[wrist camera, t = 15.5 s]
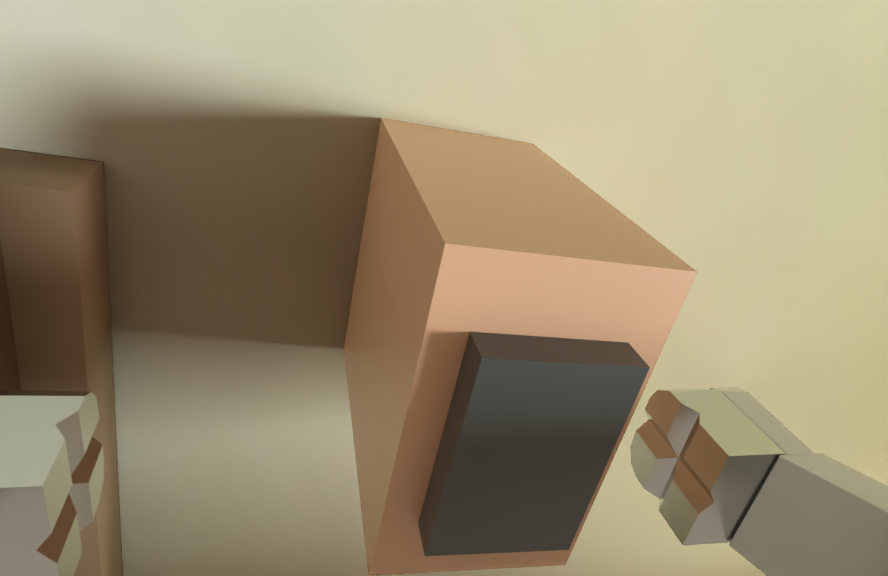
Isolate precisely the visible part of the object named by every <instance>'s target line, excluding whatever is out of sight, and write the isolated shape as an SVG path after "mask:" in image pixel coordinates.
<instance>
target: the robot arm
mask: <svg viewBox="0 0 888 576" xmlns="http://www.w3.org/2000/svg"><path fill="white" fill-rule="evenodd" d="M645 411H646V414H647V417H648V419H649V420H648V421H647V422H645V423H644V424H643V425H642V426H641V427H640V428H639V429H638V430H636V433H635V435H634V438H633V441H632V444H631V464H632V467H633V470H634V472H635V475H636V477H637V479H638V480H639V482H640V483H641V485H642V486H643V488H644V489H646V490H647V491H649V492H650V493H652V494H653V495H655V496H656V497H658V498H659V511H660V513H661V514H662V516H663V517H664V519H665V520H666V522H667V523H668V524H669V526H670V527H671V529H672V530H673V532H674V533H675V535H676V536H677V538H678V539H679V540H680V542H681V543H682V545H695V544H711V543H728V542H730V544H729V546H731V547H732V548H733V549H734V550H736V551H737V552H738V553H739V554H741V555H742V556H743V557H744V558H746V559H747V560H748V561H750V562H751V563H752V564H753V565H755V566H756V567H757V568H758V569H760V570H761V571H762V572H763V573H765V574H766V575H767V576H888V486H886V485H884V484H882V483H880V482H878V481H876V480H874V479H872V478H870V477H868V476H866V475H864V474H862V473H860V472H858V471H856V470H854V469H852V468H850V467H848V466H846V465H844V464H842V463H840V462H838V461H836V460H834V459H832V458H830V457H828V456H826V455H824V454H814V453H813V452H812V451H811V450H810V449H809V448H808V447H807V446H806V445H805V444H804V443H802V442H801V441H800V440H799V439H798V438H797V437H796V436H795V435H794V434H793V433H792V432H790V431H789V430H788V429H787V428H786V427H785V426H784V425H783V424H782V423H781V422H780V421H779V420H777V419H776V418H775V417H774V416H773V415H772V414H771V413H770V412H769V411H768V410H767V409H766V408H764V407H763V406H762V405H761V404H760V403H759V402H758V401H757V400H756V399H755V398H754V397H752V396H751V395H750V394H749V393H748V392H746V391H744V390H742V389H739V388H737V387H736V388H711V389H685V390H657V391H656V392H655V393H654V394H653V395H652V396H651V397H650V399H649V401H648V404H647V406H646V408H645ZM99 418H100V417H99V411H98V405H97V398H96V396H95V395H94V394H93V393H92V392H91V391H29V390H0V576H74V574H75V571H76V568H77V565H78V562H79V560H80V557H81V554H82V547H81V540H80V533H79V532H80V531H81V530H83V529H84V528H85V527H86V526H87V525H89V524H90V523H91V522H92V521H93V520H94V517H95V514H96V510H97V507H98V504H99V501H100V496H101V490H102V484H103V479H104V454H103V445H102V444H101V443H100V442H99V441H97V440H96V439H95V438H94V437H93V436H92V435H93V433H94V430H95V428H96V425H97V423H98V420H99Z"/></svg>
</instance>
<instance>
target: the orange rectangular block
mask: <svg viewBox="0 0 888 576" xmlns="http://www.w3.org/2000/svg"><path fill="white" fill-rule="evenodd" d="M696 273H697V271H695V270H694V269H693V268H691V267H690V266H689V265H688V264H686V263H685V262H684V261H682V260H681V259H680V258H679V257H677V256H676V255H675V254H673V253H672V252H671V251H670V250H668V249H667V248H666V247H665V246H663V245H662V244H661V243H659V242H658V241H657V240H656V239H654V238H653V237H652V236H650V235H649V234H648V233H647V232H645V231H644V230H643V229H641V228H640V227H639V226H638V225H636V224H635V223H634V222H632V221H631V220H630V219H629V218H627V217H626V216H625V215H624V214H622V213H621V212H620V211H618V210H617V209H616V208H615V207H613V206H612V205H611V204H609V203H608V202H607V201H606V200H604V199H603V198H602V197H600V196H599V195H598V194H597V193H595V192H594V191H593V190H592V189H590V188H589V187H588V186H586V185H585V184H584V183H583V182H581V181H580V180H579V179H577V178H576V177H575V176H574V175H572V174H571V173H570V172H568V171H567V170H566V169H565V168H563V167H562V166H561V165H559V164H558V163H557V162H556V161H554V160H553V159H552V158H551V157H549V156H548V155H547V154H545V153H544V152H543V151H542V150H540V149H539V148H538V147H536V146H535V145H534V144H530V143H524V142H518V141H512V140H506V139H501V138H495V137H489V136H483V135H477V134H471V133H466V132H460V131H454V130H448V129H442V128H436V127H431V126H425V125H419V124H413V123H407V122H402V121H396V120H390V119H384V118H381V121H380V127H379V133H378V140H377V146H376V152H375V158H374V164H373V171H372V177H371V183H370V189H369V195H368V202H367V208H366V214H365V220H364V227H363V233H362V239H361V245H360V251H359V258H358V264H357V270H356V276H355V283H354V289H353V295H352V301H351V307H350V314H349V320H348V326H347V332H346V338H345V345H344V355H345V364H346V373H347V382H348V391H349V400H350V409H351V419H352V428H353V437H354V446H355V455H356V464H357V473H358V482H359V491H360V501H361V510H362V519H363V528H364V537H365V546H366V555H367V564H368V573H369V575H385V574H404V573H422V572H441V571H460V570H479V569H497V568H516V567H535V566H554V565H566V562H567V560H568V558H569V556H570V553H571V551H572V549H573V547H574V544H575V542H576V540H577V538H578V536H579V533H580V531H581V529H582V527H583V524H584V522H585V520H586V518H587V516H588V513H589V511H590V509H591V507H592V504H593V502H594V500H595V498H596V496H597V493H598V491H599V489H600V487H601V484H602V482H603V480H604V478H605V476H606V473H607V471H608V469H609V467H610V464H611V462H612V460H613V458H614V456H615V453H616V451H617V449H618V447H619V444H620V442H621V440H622V438H623V435H624V433H625V431H626V429H627V427H628V424H629V422H630V420H631V418H632V415H633V413H634V411H635V409H636V407H637V404H638V402H639V400H640V398H641V395H642V393H643V391H644V389H645V387H646V384H647V382H648V380H649V378H650V375H651V373H652V371H653V369H654V367H655V364H656V362H657V360H658V358H659V355H660V353H661V351H662V349H663V347H664V344H665V342H666V340H667V338H668V335H669V333H670V331H671V329H672V327H673V324H674V322H675V320H676V318H677V315H678V313H679V311H680V309H681V306H682V304H683V302H684V300H685V298H686V295H687V293H688V291H689V289H690V286H691V284H692V282H693V280H694V278H695V275H696Z"/></svg>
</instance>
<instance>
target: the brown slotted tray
mask: <svg viewBox="0 0 888 576" xmlns="http://www.w3.org/2000/svg"><path fill="white" fill-rule="evenodd" d="M0 390H29V391H91V392H92V393H93V394H94V395H95V396H96V398H97V405H98V411H99V417H100V418H99V420H98V423H97V425H96V428H95V430H94V433H93V435H92V436H93V437H94V438H95V439H96V440H97V441H99V442H100V443H101V444H102V445H103V454H104V479H103V484H102V490H101V496H100V501H99V504H98V507H97V510H96V514H95V517H94V520H93V521H92V522H91V523H90V524H89V525H87V526H86V527H85V528H84V529H83V530H81V531H80V532H79V533H80V540H81V547H82V554H81V557H80V560H79V562H78V565H77V568H76V571H75V574H74V576H123V568H122V547H121V526H120V505H119V483H118V462H117V441H116V420H115V399H114V377H113V356H112V335H111V314H110V293H109V271H108V250H107V229H106V208H105V187H104V165H103V162H99V161H91V160H84V159H76V158H69V157H61V156H54V155H46V154H39V153H31V152H24V151H16V150H9V149H1V148H0Z"/></svg>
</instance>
